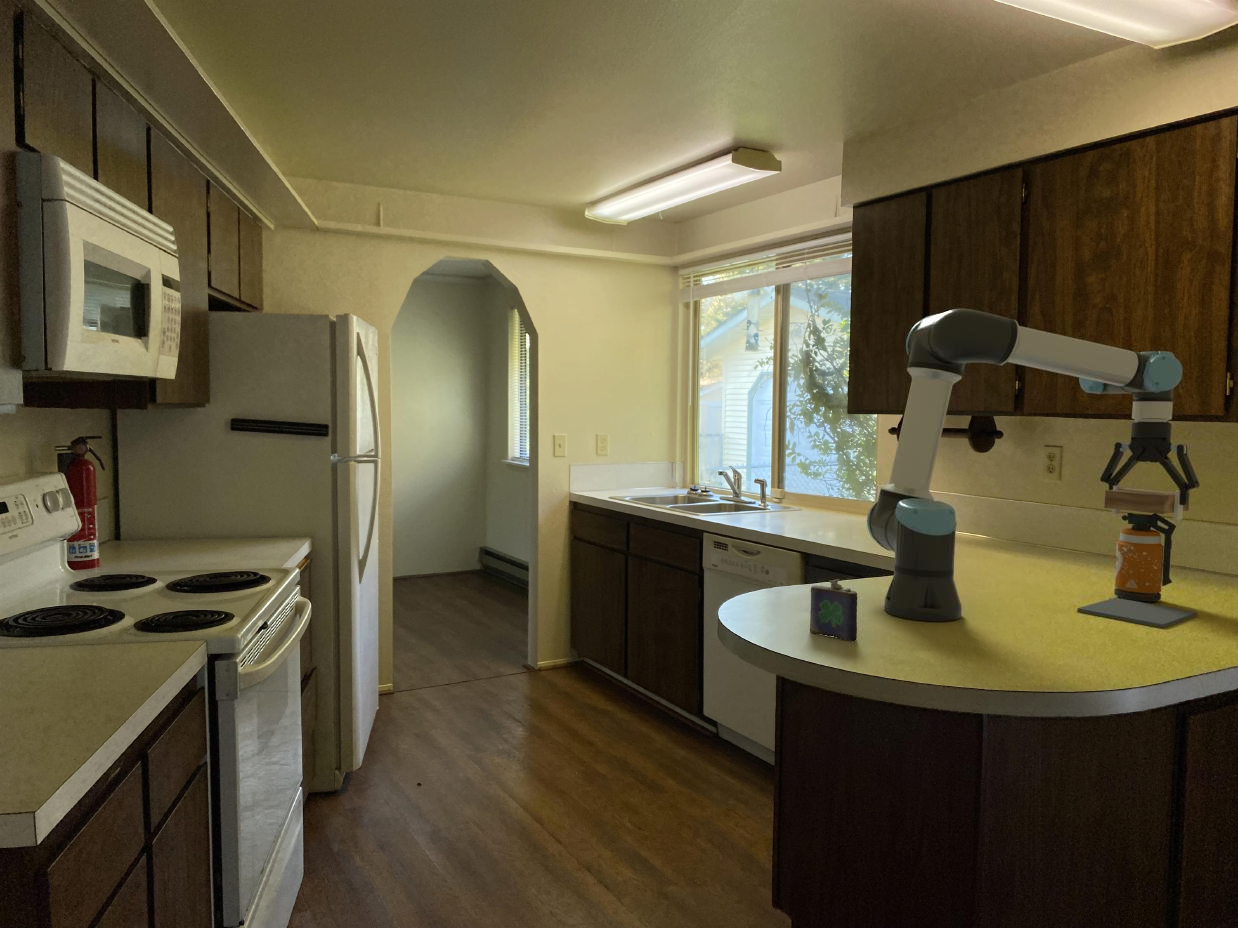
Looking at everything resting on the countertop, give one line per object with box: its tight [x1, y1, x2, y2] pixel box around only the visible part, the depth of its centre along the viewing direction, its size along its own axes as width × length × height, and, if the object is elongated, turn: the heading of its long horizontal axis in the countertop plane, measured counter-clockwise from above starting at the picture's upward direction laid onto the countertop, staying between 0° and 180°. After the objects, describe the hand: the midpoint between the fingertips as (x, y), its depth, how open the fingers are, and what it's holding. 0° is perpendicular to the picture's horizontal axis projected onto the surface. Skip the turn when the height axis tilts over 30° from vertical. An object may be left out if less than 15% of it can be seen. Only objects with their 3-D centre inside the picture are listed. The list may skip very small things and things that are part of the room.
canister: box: [1113, 512, 1177, 604], centre depth 183 cm, size 9×11×20 cm
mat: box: [1076, 597, 1198, 629], centre depth 170 cm, size 18×16×1 cm
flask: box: [809, 578, 858, 642], centre depth 150 cm, size 9×3×11 cm, turn 48°
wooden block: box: [1103, 487, 1191, 515], centre depth 182 cm, size 14×12×4 cm
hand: (1145, 516), depth 183 cm, fingers closed on wooden block, 12 cm apart
